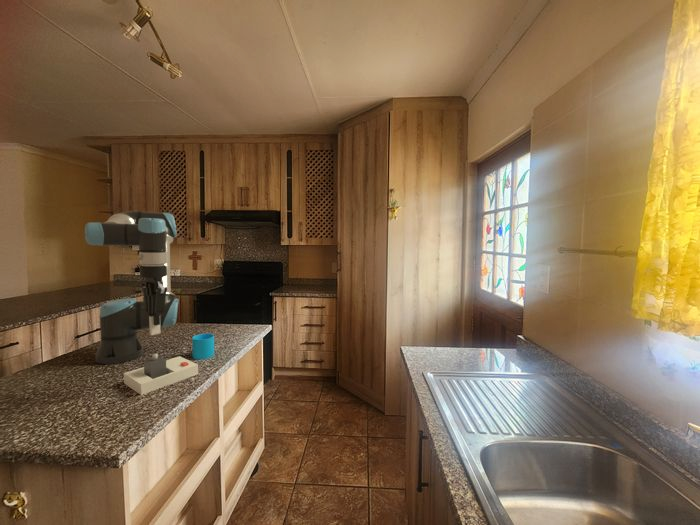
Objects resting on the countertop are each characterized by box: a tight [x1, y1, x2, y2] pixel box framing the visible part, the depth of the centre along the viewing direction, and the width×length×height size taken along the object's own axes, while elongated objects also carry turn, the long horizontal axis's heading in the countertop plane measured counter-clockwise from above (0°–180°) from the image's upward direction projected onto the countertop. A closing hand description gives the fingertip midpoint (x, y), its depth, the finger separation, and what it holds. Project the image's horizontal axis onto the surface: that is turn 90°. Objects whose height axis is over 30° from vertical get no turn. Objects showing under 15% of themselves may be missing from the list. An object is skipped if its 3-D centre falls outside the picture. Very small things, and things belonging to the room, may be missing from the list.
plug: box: [143, 352, 167, 379], centre depth 99 cm, size 5×5×9 cm
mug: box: [191, 333, 215, 360], centre depth 124 cm, size 12×8×8 cm
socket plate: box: [123, 355, 199, 396], centre depth 101 cm, size 13×18×4 cm
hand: (155, 333), depth 99 cm, fingers closed
